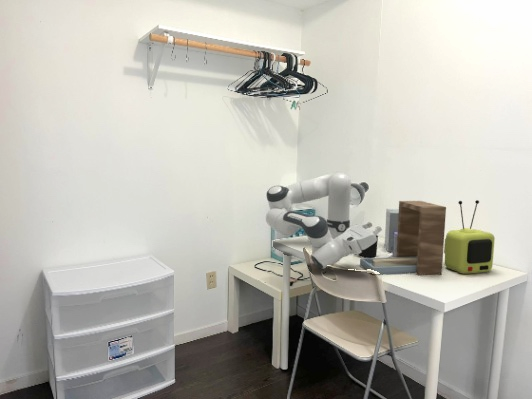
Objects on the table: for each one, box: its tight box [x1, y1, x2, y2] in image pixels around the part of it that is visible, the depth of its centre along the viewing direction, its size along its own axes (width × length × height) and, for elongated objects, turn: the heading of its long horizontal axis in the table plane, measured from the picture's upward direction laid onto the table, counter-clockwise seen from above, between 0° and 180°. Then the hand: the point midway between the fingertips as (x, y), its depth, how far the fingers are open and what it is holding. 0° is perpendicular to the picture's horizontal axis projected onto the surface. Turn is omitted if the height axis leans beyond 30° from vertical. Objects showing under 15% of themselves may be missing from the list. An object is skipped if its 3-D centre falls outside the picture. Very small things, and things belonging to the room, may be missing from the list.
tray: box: [359, 256, 417, 276], centre depth 173 cm, size 14×27×3 cm, turn 99°
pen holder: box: [357, 234, 379, 258], centre depth 193 cm, size 9×9×10 cm
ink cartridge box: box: [391, 232, 398, 258], centre depth 188 cm, size 10×6×14 cm, turn 78°
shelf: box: [396, 200, 447, 276], centre depth 172 cm, size 20×10×28 cm, turn 9°
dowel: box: [372, 258, 417, 267], centre depth 172 cm, size 3×20×3 cm, turn 99°
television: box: [443, 199, 495, 275], centre depth 172 cm, size 18×18×30 cm
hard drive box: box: [384, 208, 399, 253], centre depth 206 cm, size 16×8×20 cm, turn 170°
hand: (375, 225), depth 168 cm, fingers open, 8 cm apart
